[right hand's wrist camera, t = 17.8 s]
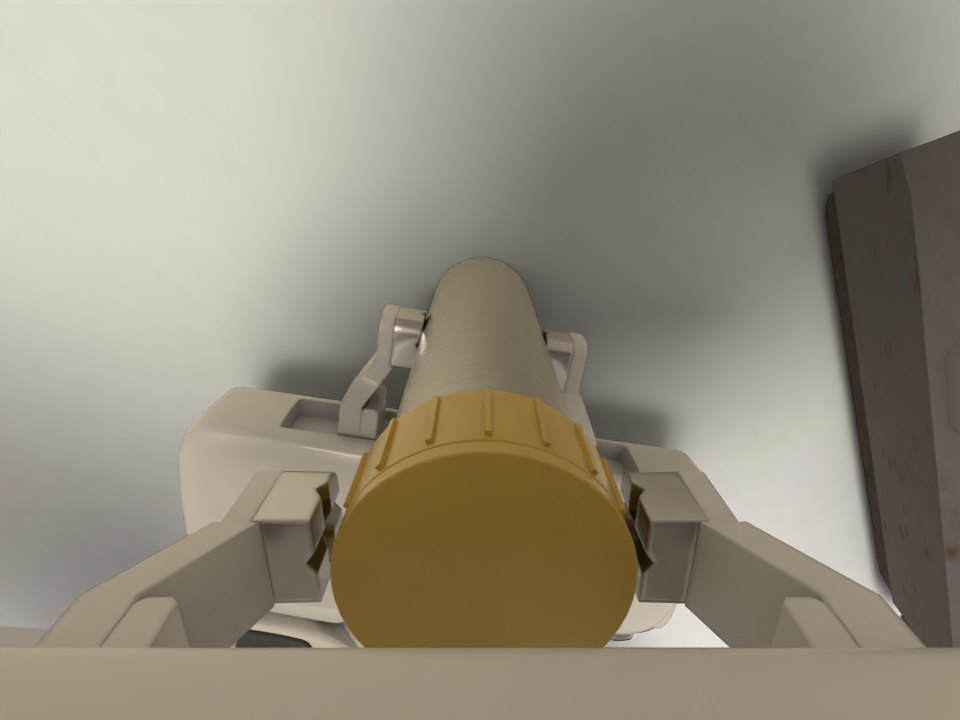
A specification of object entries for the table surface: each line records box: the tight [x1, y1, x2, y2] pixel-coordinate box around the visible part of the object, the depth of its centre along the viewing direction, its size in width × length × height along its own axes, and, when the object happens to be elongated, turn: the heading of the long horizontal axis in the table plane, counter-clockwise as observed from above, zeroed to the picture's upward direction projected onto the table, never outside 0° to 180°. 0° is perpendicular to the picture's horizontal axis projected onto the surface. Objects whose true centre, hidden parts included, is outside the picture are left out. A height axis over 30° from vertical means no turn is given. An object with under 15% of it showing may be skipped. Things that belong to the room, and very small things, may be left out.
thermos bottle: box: [395, 258, 570, 419], centre depth 17 cm, size 4×4×16 cm
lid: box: [330, 388, 638, 648], centre depth 10 cm, size 5×5×2 cm
